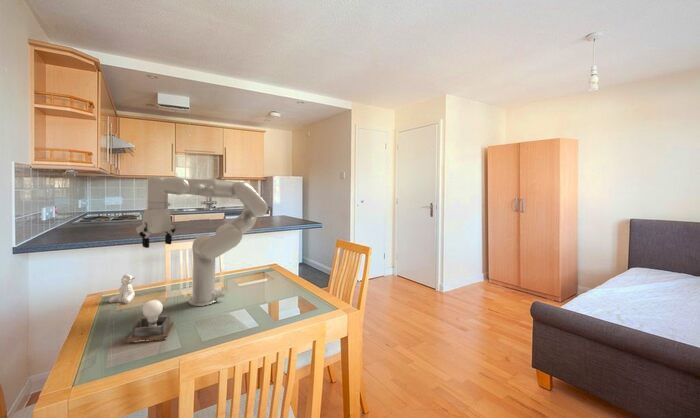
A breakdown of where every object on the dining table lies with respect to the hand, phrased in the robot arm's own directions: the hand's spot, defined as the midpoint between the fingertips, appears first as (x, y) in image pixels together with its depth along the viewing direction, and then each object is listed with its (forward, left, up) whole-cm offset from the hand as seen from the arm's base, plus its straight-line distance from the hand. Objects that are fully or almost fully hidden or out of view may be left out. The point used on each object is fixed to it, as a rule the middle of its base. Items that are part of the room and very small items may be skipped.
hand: (157, 245), depth 134 cm
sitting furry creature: (+16, -14, -29) cm, 36 cm away
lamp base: (-4, +24, -28) cm, 37 cm away
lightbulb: (-4, +23, -27) cm, 36 cm away
